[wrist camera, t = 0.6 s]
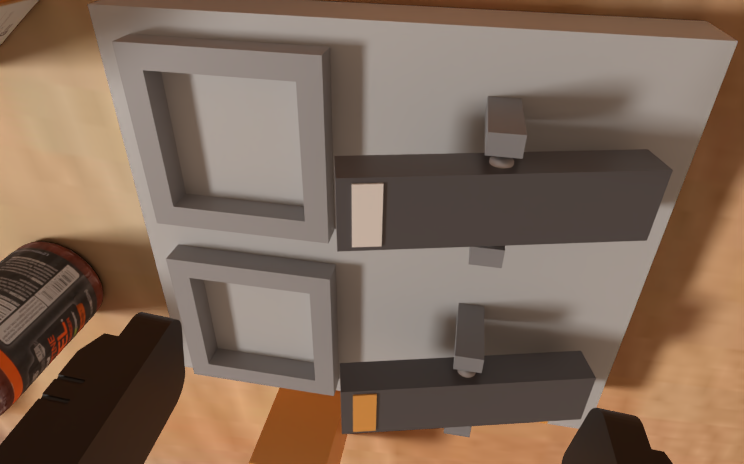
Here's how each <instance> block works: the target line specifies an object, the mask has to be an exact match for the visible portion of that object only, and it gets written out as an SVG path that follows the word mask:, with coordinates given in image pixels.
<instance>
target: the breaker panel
mask: <svg viewBox="0 0 744 464" xmlns="http://www.w3.org/2000/svg"><path fill="white" fill-rule="evenodd" d="M87 5H88V9H89V12H90V16H91V20H92V24H93V28H94V31H95V35H96V39H97V43H98V47H99V50H100V54H101V58H102V62H103V65H104V69H105V73H106V77H107V81H108V84H109V88H110V92H111V96H112V100H113V103H114V107H115V111H116V115H117V118H118V122H119V126H120V130H121V134H122V137H123V141H124V145H125V149H126V153H127V156H128V160H129V164H130V168H131V172H132V175H133V179H134V183H135V187H136V190H137V194H138V198H139V202H140V206H141V209H142V213H143V217H144V221H145V225H146V228H147V232H148V236H149V240H150V244H151V247H152V251H153V255H154V259H155V262H156V266H157V270H158V274H159V278H160V281H161V285H162V289H163V293H164V297H165V300H166V304H167V308H168V312H169V316H170V318H173V319H177V320H179V321H180V322H181V325H182V336H183V350H184V364H185V367H191V368H193V370H194V374H198V375H205V376H211V377H217V378H223V379H230V380H236V381H242V382H249V383H255V384H261V385H267V386H274V387H280V388H286V389H292V390H299V391H305V392H311V393H318V394H324V395H330V396H334V395H335V391H336V390H337V391H340V363H350V362H370V361H389V360H408V359H428V358H447V357H454V364H453V369H456V370H463V371H470V372H477V373H482V369H483V363H484V356H486V355H505V354H525V353H544V352H563V351H581V352H582V353H583V355H584V357H585V359H586V361H587V362H588V364H589V366H590V368H591V370H592V371H593V373H594V375H595V377H596V380H595V382H594V385H593V388H592V391H591V393H590V396H589V399H588V401H587V404H586V407H585V410H584V412H583V415H582V418H581V419H578V420H561V421H545V422H540V423H546V424H553V425H559V426H565V427H572V428H578V429H579V428H580V426H581V425H582V423H583V421H584V420H585V418H586V416H587V414H588V413H589V411H590V410H591V409H593V408H596V407H597V404H598V402H599V399H600V396H601V394H602V391H603V389H604V386H605V383H606V381H607V378H608V376H609V373H610V371H611V368H612V365H613V363H614V360H615V358H616V355H617V352H618V350H619V347H620V345H621V342H622V340H623V337H624V334H625V332H626V329H627V327H628V324H629V321H630V319H631V316H632V314H633V311H634V309H635V306H636V303H637V301H638V298H639V296H640V293H641V291H642V288H643V285H644V283H645V280H646V278H647V275H648V272H649V270H650V267H651V265H652V262H653V260H654V257H655V254H656V252H657V249H658V247H659V244H660V241H661V239H662V236H663V234H664V231H665V229H666V226H667V223H668V221H669V218H670V216H671V213H672V211H673V208H674V205H675V203H676V200H677V198H678V195H679V192H680V190H681V187H682V185H683V182H684V180H685V177H686V174H687V172H688V169H689V167H690V164H691V161H692V159H693V156H694V154H695V151H696V149H697V146H698V143H699V141H700V138H701V136H702V133H703V131H704V128H705V125H706V123H707V120H708V118H709V115H710V112H711V110H712V107H713V105H714V102H715V100H716V97H717V94H718V92H719V89H720V87H721V84H722V81H723V79H724V76H725V74H726V71H727V69H728V66H729V63H730V61H731V58H732V56H733V53H734V51H735V48H736V45H737V43H738V41H737V40H736V39H734V38H732V37H731V36H729V35H728V34H726V33H724V32H723V31H721V30H720V29H718V28H717V27H715V26H713V25H712V24H710V23H709V22H707V21H697V20H678V19H659V18H640V17H621V16H602V15H583V14H564V13H545V12H526V11H506V10H487V9H468V8H449V7H430V6H411V5H392V4H373V3H354V2H335V1H316V0H99V1H96V2H93V3H89V4H87ZM635 149H648V150H649V151H651V152H652V153H653V154H654V155H655V156H657V157H658V158H659V159H660V160H662V161H663V162H664V163H665V164H666V165H668V166H669V167H670V168H671V169H672V170H673V172H672V174H671V177H670V180H669V182H668V185H667V188H666V190H665V193H664V196H663V199H662V201H661V204H660V207H659V209H658V212H657V215H656V218H655V220H654V223H653V226H652V228H651V231H650V234H649V236H648V239H647V241H622V242H594V243H566V244H537V245H509V246H481V247H453V248H424V249H396V250H368V251H339V252H337V236H336V206H335V168H334V156H354V155H401V154H448V153H485V155H487V156H498V157H509V158H520V159H523V154H524V152H541V151H588V150H635ZM470 431H471V426H465V427H449V428H444V433H446V434H452V435H459V436H465V437H470Z"/></svg>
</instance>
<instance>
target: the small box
mask: <svg viewBox="0 0 744 464" xmlns="http://www.w3.org/2000/svg"><path fill="white" fill-rule="evenodd" d="M38 1H39V0H0V45H1V44H2V43H3V41H4V40H5V39H6V38H7V37H8V35H9V34H10V33H11V32H12V31H13V30H14V28H15V27H16V26H17V25H18V24H19V23H20V21H21V20H22V19H23V18H24V17H25V15H26V14H27V13H28V12H29V11H30V10H31V9H32V8H33V6H34V5H35V4H36V3H37V2H38Z"/></svg>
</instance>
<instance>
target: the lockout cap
mask: <svg viewBox="0 0 744 464" xmlns="http://www.w3.org/2000/svg"><path fill="white" fill-rule="evenodd" d="M346 437H347V434H342V425H341V399H340V391H337V390H336V391H335V395H334V396H330V395H324V394H318V393H311V392H305V391H299V390H292V389H286V388H279V391H278V393H277V396H276V398H275V401H274V403H273V405H272V408H271V410H270V413H269V415H268V418H267V420H266V422H265V425H264V427H263V430H262V432H261V435H260V437H259V440H258V442H257V444H256V447H255V449H254V452H253V454H252V457H251V459H250V462H249V464H340V461H341V457H342V453H343V449H344V445H345V441H346Z"/></svg>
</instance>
